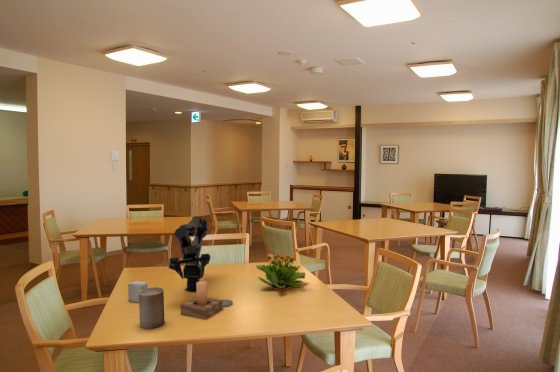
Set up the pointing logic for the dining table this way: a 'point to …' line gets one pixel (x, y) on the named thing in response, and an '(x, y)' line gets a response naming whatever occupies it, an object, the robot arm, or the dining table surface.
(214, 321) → the dining table surface
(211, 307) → the pocket block
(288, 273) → the potted flower
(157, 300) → the pillar candle
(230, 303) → the coaster
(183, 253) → the robot arm
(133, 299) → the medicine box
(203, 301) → the peg
